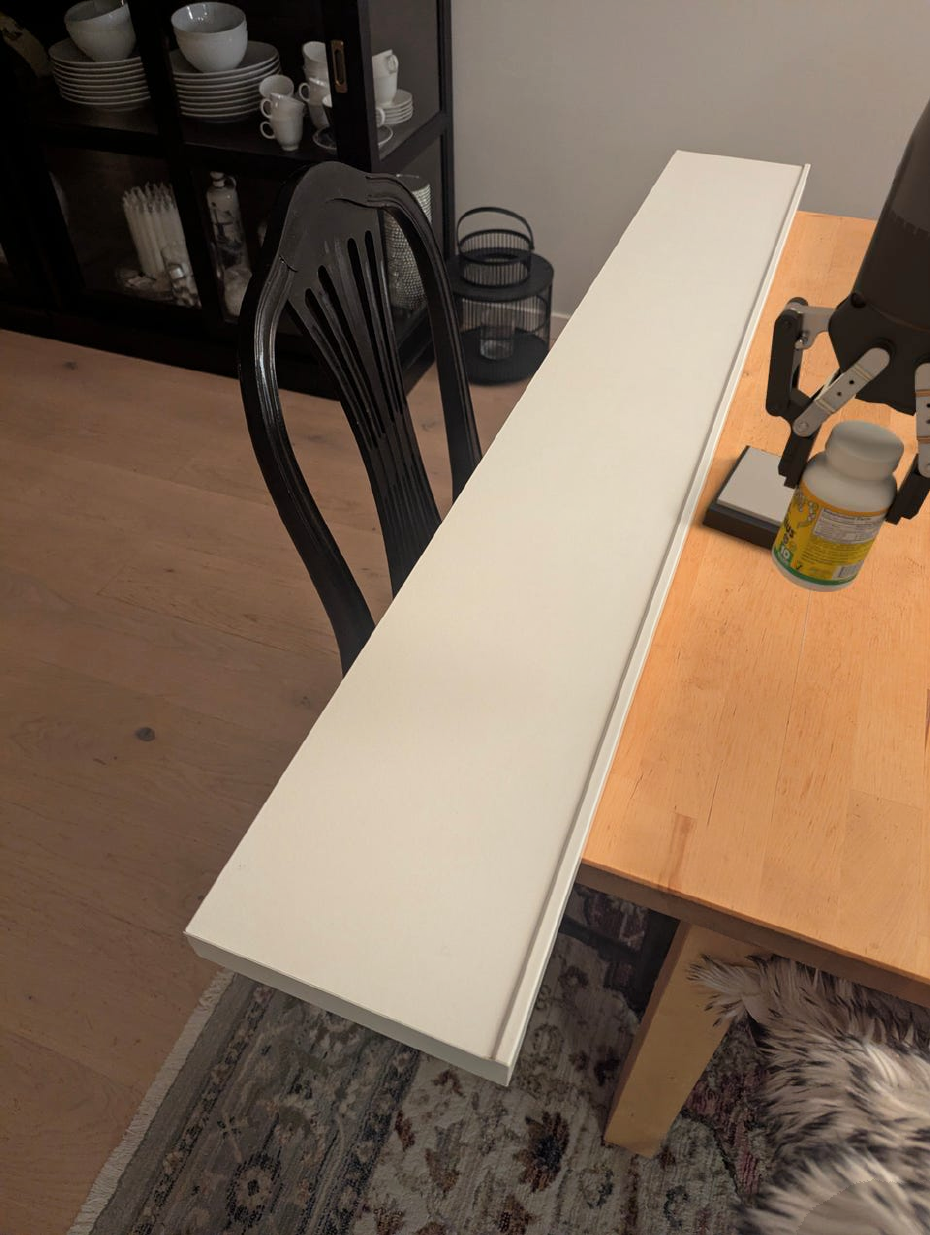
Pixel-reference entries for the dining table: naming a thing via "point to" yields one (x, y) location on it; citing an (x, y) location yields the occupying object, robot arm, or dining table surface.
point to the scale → (751, 499)
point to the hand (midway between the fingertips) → (842, 497)
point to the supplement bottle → (838, 507)
